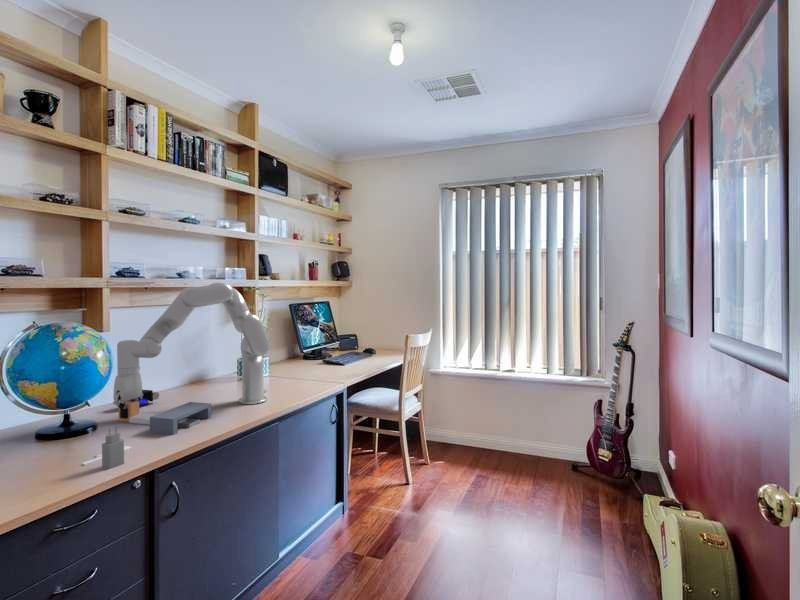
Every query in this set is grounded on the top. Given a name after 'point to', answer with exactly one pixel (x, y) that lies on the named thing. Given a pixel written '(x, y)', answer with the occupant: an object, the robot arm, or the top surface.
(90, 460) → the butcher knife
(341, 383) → the top surface
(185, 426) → the steel token
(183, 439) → the top surface
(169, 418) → the riser shelf
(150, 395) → the figurine character
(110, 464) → the power adapter
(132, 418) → the scraper tool
